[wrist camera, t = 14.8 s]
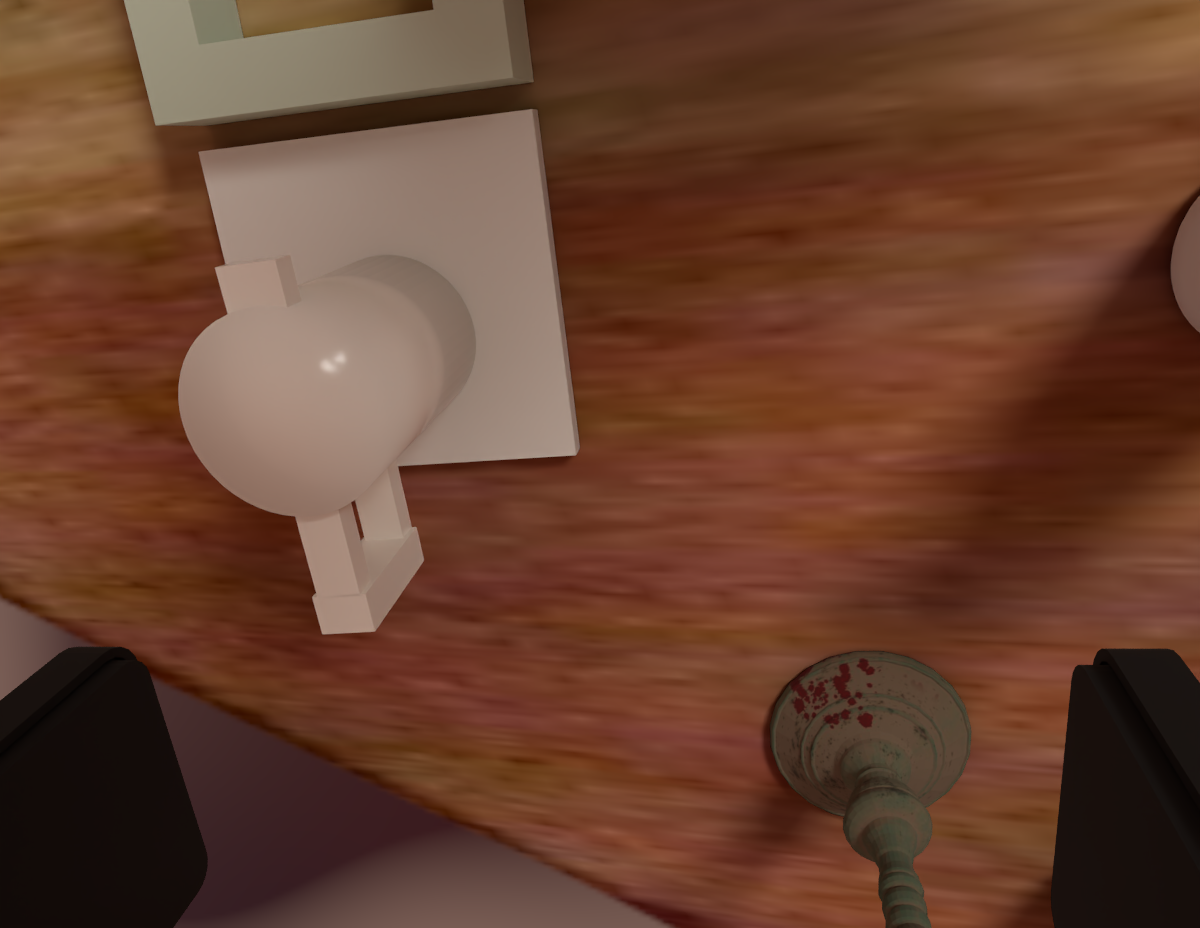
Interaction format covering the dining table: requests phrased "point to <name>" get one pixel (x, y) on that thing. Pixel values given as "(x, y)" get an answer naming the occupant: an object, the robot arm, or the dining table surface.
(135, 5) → the holder
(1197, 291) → the milk bottle
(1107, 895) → the robot arm
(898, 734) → the candlestick holder
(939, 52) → the dining table surface
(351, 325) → the capsule with loop handle
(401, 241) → the tile
